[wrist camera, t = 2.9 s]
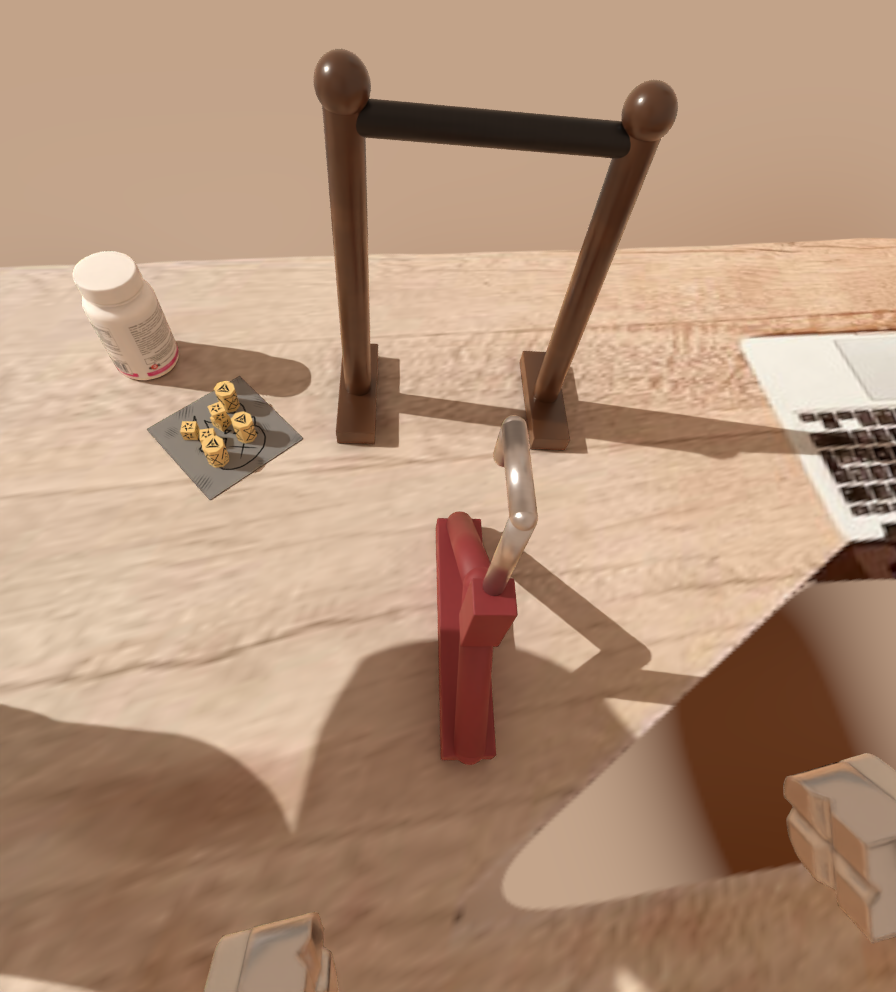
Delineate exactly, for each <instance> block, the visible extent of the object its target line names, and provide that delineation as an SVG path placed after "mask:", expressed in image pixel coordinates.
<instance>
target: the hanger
mask: <svg viewBox="0 0 896 992" xmlns="http://www.w3.org/2000/svg"><path fill="white" fill-rule="evenodd" d="M493 458H494V461H495V462H496V463H497V464H498V465H499V466H501V467H505V475H506V486H507V497H508V508H509V518H508V521H507V523H506V526H505V528H504V531H503V533H502V536H501V538H500V541H499V543H498V546H497V548H496V551H495V553H494V556H493V558H492V561H491V563H490V560H489V558H488V556H487V553H486V551H485V549H484V547H483V544H482V530H481V519H471V517H470V516H469V515H468V514H467V513H465V512H455V513H453V514H451V515H450V516H449V518H438V519H437V524H436V560H437V606H438V653H439V700H440V746H441V760H459V761H460V762H462V763H464V764H467V765H472V764H476V763H477V762H479V761H480V760H481V759H492V758H494V757H495V756H496V745H495V730H494V714H493V699H492V684H491V669H492V656H493V647H497V646H499V644H500V643H501V641H502V639H503V638H504V636H505V634H506V633H507V631H508V630H509V628H510V626H511V625H512V623H513V621H514V620H515V618H516V617H517V603H516V592H515V582H514V579H513V578H510V577H511V575H512V573H513V571H514V569H515V567H516V565H517V563H518V561H519V559H520V557H521V555H522V553H523V551H524V549H525V547H526V545H527V543H528V541H529V539H530V537H531V535H532V533H533V531H534V529H535V527H536V524H537V521H538V515H537V507H536V498H535V490H534V482H533V474H532V465H531V457H530V449H529V440H528V432H527V425H526V422H525V420H524V419H523V418H522V417H520V416H517V415H511V416H508V417H507V418H506V419H504V421H503V423H502V425H501V429H500V432H499V435H498V439H497V442H496V446H495V449H494V453H493Z"/></svg>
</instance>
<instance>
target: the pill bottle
mask: <svg viewBox="0 0 896 992" xmlns="http://www.w3.org/2000/svg"><path fill="white" fill-rule="evenodd" d="M73 280H74V282H75V284H76V286H77V288H78V290H79V291H80V293H81V295H82V296H83V297H82V306H83V309H84V312H85V314H86V315H87V317H88V319H89V321H90V323H91V324H92V326H93V328H94V330H95V331H96V333H97V335H98V337H99V338H100V340H101V342H102V344H103V345H104V347H105V349H106V351H107V352H108V354H109V356H110V358H111V359H112V361H113V363H114V364H115V366H116V368H117V369H118V370H119V371H120V372H121V373H122V374H123V375H125V376H126V377H128V378H131V379H136V380H150V379H154V378H158V377H160V376H163V375H165V374H166V373H168V372H169V371H170V370H171V369H172V368H173V367H174V366H175V364H176V363H177V360H178V357H179V350H178V347H177V344H176V342H175V339H174V337H173V335H172V332H171V330H170V328H169V325H168V323H167V321H166V318H165V316H164V314H163V311H162V309H161V306H160V304H159V302H158V299H157V297H156V295H155V292H154V290H153V289H152V287H151V286H150V284H149V283H148V282H146V281H145V280H144V279H143V278H142V275H141V273H140V271H139V269H138V267H137V265H136V263H135V262H134V260H133V259H132V258H131V257H129V256H127V255H125V254H123V253H120V252H114V251H105V252H99V253H94V254H92V255H89V256H87V257H85V258H83V259H82V260H81V261H79V262H78V263H77V264H76V266H75V267H74V270H73Z"/></svg>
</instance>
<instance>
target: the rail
mask: <svg viewBox="0 0 896 992" xmlns="http://www.w3.org/2000/svg"><path fill="white" fill-rule="evenodd" d="M314 88H315V92H316V95H317V97H318V99H319V101H320V103H321V104H322V109H323V120H324V133H325V144H326V145H325V146H326V158H327V170H328V183H329V195H330V207H331V219H332V231H333V244H334V256H335V269H336V281H337V293H338V306H339V318H340V330H341V342H342V365H341V377H340V390H339V402H338V414H337V426H336V436H337V442H338V443H361V444H374V443H375V423H376V398H377V373H378V344H370V313H369V270H368V230H367V229H368V228H367V186H366V144H365V143H366V142H365V137H366V138H377V139H390V140H401V141H414V142H425V143H437V144H449V145H462V146H473V147H487V148H497V149H509V150H521V151H534V152H545V153H557V154H569V155H581V156H593V157H605V158H612V160H611V163H610V166H609V169H608V172H607V175H606V178H605V181H604V184H603V186H602V189H601V192H600V195H599V198H598V201H597V204H596V207H595V210H594V213H593V216H592V219H591V222H590V225H589V228H588V231H587V234H586V237H585V239H584V243H583V246H582V248H581V251H580V254H579V257H578V260H577V263H576V266H575V269H574V272H573V275H572V278H571V281H570V284H569V287H568V290H567V292H566V295H565V298H564V301H563V304H562V307H561V310H560V313H559V316H558V319H557V322H556V325H555V328H554V331H553V334H552V337H551V340H550V343H549V345H548V348H547V351H546V352H533V351H523V353H522V357H521V360H520V369H521V377H522V385H523V393H524V401H525V410H526V418H527V426H528V434H529V442H530V449H545V450H565V449H566V447H567V445H568V443H569V441H570V437H569V431H568V425H567V419H566V413H565V407H564V401H563V395H562V389H561V387H562V385H563V382H564V380H565V377H566V375H567V372H568V370H569V367H570V365H571V362H572V360H573V357H574V355H575V352H576V350H577V347H578V345H579V342H580V340H581V337H582V335H583V332H584V330H585V327H586V325H587V322H588V320H589V317H590V315H591V312H592V310H593V307H594V305H595V302H596V300H597V297H598V295H599V292H600V290H601V287H602V285H603V282H604V280H605V277H606V275H607V272H608V270H609V267H610V265H611V262H612V260H613V257H614V255H615V252H616V250H617V247H618V245H619V242H620V240H621V237H622V235H623V232H624V230H625V227H626V225H627V222H628V220H629V217H630V215H631V212H632V210H633V207H634V205H635V202H636V200H637V197H638V195H639V192H640V190H641V187H642V185H643V182H644V180H645V177H646V175H647V172H648V170H649V167H650V165H651V162H652V160H653V157H654V155H655V152H656V150H657V147H658V145H659V142H660V140H661V138H662V137H663V136H664V135H665V134H667V132H668V131H669V130H670V129H671V127H672V125H673V123H674V121H675V119H676V116H677V111H678V102H677V97H676V94H675V92H674V90H673V89H672V88H671V87H670V86H669V85H668V84H667V83H665V82H663V81H660V80H650V81H646V82H644V83H642V84H640V85H638V86H637V87H636V88H635V89H633V91H632V92H631V93H630V94H629V96H628V97H627V99H626V101H625V103H624V106H623V109H622V122H620V121H610V120H599V119H587V118H577V117H566V116H555V115H544V114H533V113H522V112H511V111H499V110H488V109H477V108H466V107H455V106H444V105H433V104H422V103H410V102H399V101H389V100H377V99H369V97H370V91H371V85H370V77H369V74H368V71H367V69H366V67H365V65H364V63H363V62H362V61H361V59H360V58H359V57H358V56H356V55H355V54H353V53H352V52H350V51H347V50H344V49H335V50H331V51H329V52H327V53H326V54H324V55H323V56H322V57H321V59H320V60H319V61H318V63H317V66H316V68H315V72H314Z"/></svg>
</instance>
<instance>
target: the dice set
mask: <svg viewBox="0 0 896 992" xmlns="http://www.w3.org/2000/svg"><path fill="white" fill-rule="evenodd" d="M214 394H215V396H216V399H217V402H214V403H212V404H209V405H207V406H206V407H207V409H208V412H209V414H210V417H209V419H210V422H211V424H212V425H213V426H214V427H209V428H201V429H200V427H199V424H198V422H197V421H196V420H182V421H181V425H180V430H179V433H180V435H181V437H182V439H183V440H198V439H199V442H200V444H201V449H202V452H203V454H204V456H205V458H206V460H207V462H208V463H209V464H210V465H211V466H212V467H214V468H219V467H224V466H225V465H226V464H227V463H228V462H229V461H230V454H229V452H228V449H227V447H226V444H225V442H224V439H223V438H221V437H220V436H218V435H217V433H216V431H215V428H217V429H219V430H220V431H222V432H224V431H225V430H226V429H227V428H228V427H229V426H230V425H232V428H233V430H234V433H235V436H236V439H237V440H238V441H239V442H242V443H244V444H245V443H250V442H253V441H254V439H255V438H256V437H257V435H258V434H257V431H256V428H255V424H254V421H253V418H252V415H251V414H250V413H249V412H246V411H244V410H243V411H238V412H235V411H236V410H237V409H238V408H239V407H240V406H241V404H240V401H239V398H238V394H237V391H236V388H235V385H234V383H233V382H231V381H230V382H228V381H223V382H219V383H218V384H217V385H216V386H215V387H214ZM230 412H235V413H234V414H233V415H232V417H231V416H230V415H229V414H228V413H230Z"/></svg>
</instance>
